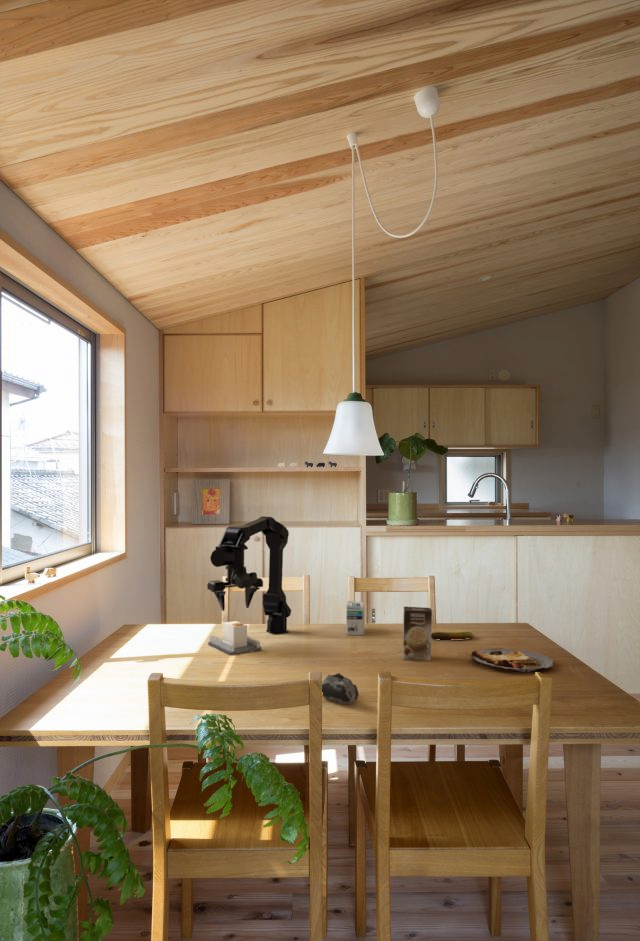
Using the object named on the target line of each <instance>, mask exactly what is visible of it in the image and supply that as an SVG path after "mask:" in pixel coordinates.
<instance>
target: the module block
mask: <svg viewBox="0 0 640 941" xmlns="http://www.w3.org/2000/svg"><path fill="white" fill-rule="evenodd" d="M247 636H248V625H247V624H245V623H243V622H240V621H238V620H234V621H226V622H222V640H224V641H226V642H228V643H231V644H233V645H234V648H237V647H244V646H247Z"/></svg>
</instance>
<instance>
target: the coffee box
mask: <svg viewBox="0 0 640 941" xmlns="http://www.w3.org/2000/svg"><path fill="white" fill-rule="evenodd" d="M432 613H433V612H432V608H431V607H422V606H421V607H418V606H403V618H402V619H403V622H402V651H401V652H402V653H401V656H402V660H406V661H424V662H426V661H427V662H428V661H429V662H431V660H432V659H431V658H432V638H431V633H432V627H433V626H432V620H433V618H432V617H433V614H432Z"/></svg>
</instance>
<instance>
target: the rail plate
mask: <svg viewBox="0 0 640 941" xmlns="http://www.w3.org/2000/svg"><path fill="white" fill-rule="evenodd" d="M207 643H208V646H210V647H212V648H214V649H216V650H218V651H220V652H223V653H224V654H226V655H228V656H233V655H238V654H237V653H240V654H244V653H243V652H246V653H251V652H250V651H253V652H257V651H256V650H259V651H262V646H261V641H260V640H257V639H255V638H252V637H250V636H248V635H247V646H244V647H237V648H234V645H233V644H231V643H228V642H226V641H224V640H223V638H222V639H221V638H220V637H218V636H215V635H210V636H209V641H208V642H207ZM232 654H233V655H232Z"/></svg>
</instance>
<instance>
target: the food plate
mask: <svg viewBox="0 0 640 941" xmlns="http://www.w3.org/2000/svg"><path fill="white" fill-rule="evenodd" d="M470 657H471V659H473V660H474V661H475V662H476V663H479V664H482V665H487V666H490V667H492V666H493V668H499V669H502V670H508V669H510V670H512V671H513V670H514V671H516V672H522V673H525V672H526V671H527V672H526V673H529V672H532V671H537V670H542V669H548V668H552V667H553V666H554V661H553V659H552V658H551V657H549V656H547V655H543V654H541V653H539V652H534V651H533V652H532V651H529V650H524V649H523V650H522V649H515V648H514V649H513V648H504V647H500V648H499V647H496V648H489V649H488V648H487V649H483V650H482V649H480V650H473V651H471V654H470ZM529 659H533V660H529ZM534 660H535V661H537V662H539V663H540V667H539V666H534V667H528V668H525V669H524V668H523V667H524V665H537V663H535V662H534ZM513 661H516V662H513ZM509 662H513V664H512V663H509ZM493 664H494V665H493Z"/></svg>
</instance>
